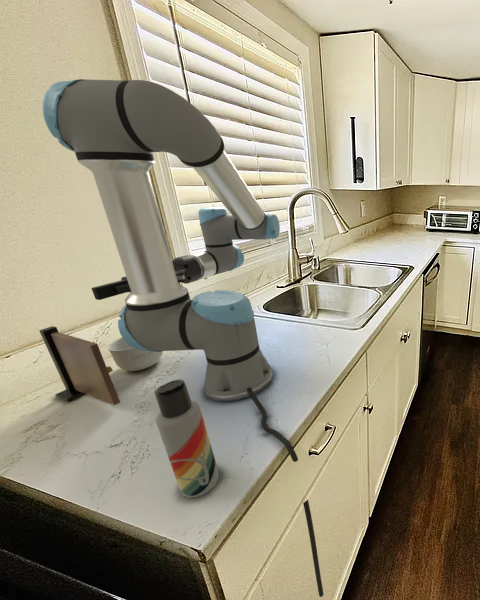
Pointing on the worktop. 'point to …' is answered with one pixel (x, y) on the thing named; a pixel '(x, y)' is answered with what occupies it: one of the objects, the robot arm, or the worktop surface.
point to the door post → (59, 366)
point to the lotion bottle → (185, 439)
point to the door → (86, 367)
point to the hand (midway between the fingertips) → (95, 294)
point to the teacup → (132, 356)
